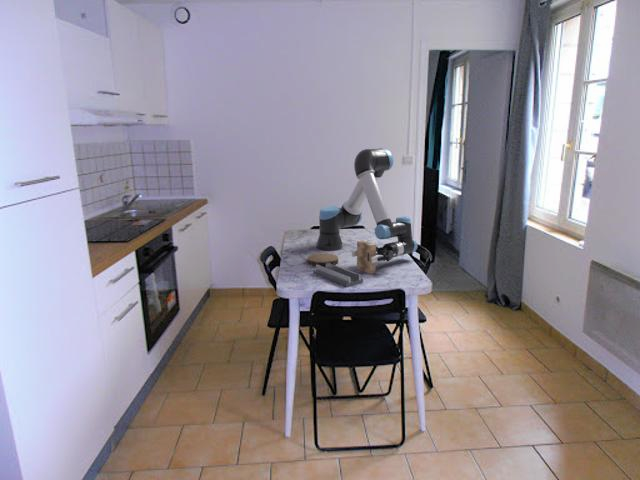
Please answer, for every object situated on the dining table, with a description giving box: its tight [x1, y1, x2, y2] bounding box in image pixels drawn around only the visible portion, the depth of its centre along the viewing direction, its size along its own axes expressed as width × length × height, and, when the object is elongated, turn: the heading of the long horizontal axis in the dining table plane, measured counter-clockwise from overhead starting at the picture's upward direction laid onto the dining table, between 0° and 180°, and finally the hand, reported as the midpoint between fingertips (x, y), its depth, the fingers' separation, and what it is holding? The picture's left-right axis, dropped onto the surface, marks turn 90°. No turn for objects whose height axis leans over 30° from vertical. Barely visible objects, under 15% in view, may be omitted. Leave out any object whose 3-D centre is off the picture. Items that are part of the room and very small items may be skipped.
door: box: [356, 240, 377, 275], centre depth 217 cm, size 10×3×14 cm, turn 37°
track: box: [312, 263, 364, 288], centre depth 208 cm, size 24×10×4 cm, turn 37°
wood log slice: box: [306, 252, 339, 268], centre depth 232 cm, size 16×16×3 cm
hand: (361, 257), depth 215 cm, fingers open, 13 cm apart
